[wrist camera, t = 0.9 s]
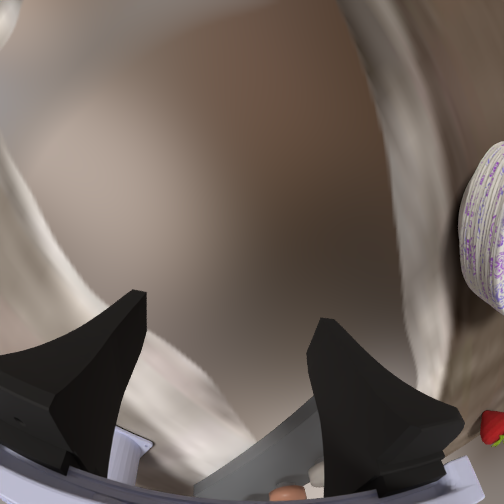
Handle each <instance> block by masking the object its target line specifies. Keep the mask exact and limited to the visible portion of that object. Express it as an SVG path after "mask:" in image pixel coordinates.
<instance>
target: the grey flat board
mask: <svg viewBox="0 0 504 504" xmlns="http://www.w3.org/2000/svg"><path fill="white" fill-rule="evenodd" d="M321 457H324V456H323V442H322V432H321V424H320V418H319V413H318V409H317V405H316V401H315V398H314V396H313V397H312V398H310V399H309V400H308V401H307V402H306V403H305V404H304V405H303V406H301V407H300V408H299V409H298V410H297V411H296V412H294V413H293V414H292V415H291V416H290V417H289V418H287V419H286V420H285V421H284V422H282V423H281V424H280V425H279V426H278V427H276V428H275V429H274V430H273V431H271V432H270V433H269V434H268V435H266V436H265V437H264V438H262V439H261V440H260V441H258V442H257V443H256V444H254V445H253V446H252V447H250V448H249V449H248V450H246V451H245V452H244V453H242V454H241V455H239V456H238V457H237V458H235V459H234V460H232V461H231V462H229V463H228V464H227V465H225V466H224V467H222V468H221V469H219V470H218V471H216V472H215V473H213V474H211V475H210V476H208V477H207V478H205V479H204V480H202V481H200V482H199V483H197V484H195V485H194V496H195V497H199V498H208V499H219V500H234V501H248V500H260V501H270V499H269V493H270V492H271V491H272V490H274V489H276V485H277V484H279V483H282V482H289V481H290V482H294V483H295V485H299V486H304V485H305V484H307V483H309V482H310V479H309V475H308V471H309V469H310V468H311V467H313V466H314V465H315V461H316V460H318V459H319V458H321Z"/></svg>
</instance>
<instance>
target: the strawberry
mask: <svg viewBox="0 0 504 504" xmlns="http://www.w3.org/2000/svg"><path fill="white" fill-rule="evenodd" d="M480 435H481V438H482V441H483V442H484V443H485V444H492V443H494V445H496V444H497V445H498V444H499V443H500V442H501V439H502V440H503V439H504V412H498V411H488V410H487V411H484V412H483V414H482V421H481V431H480ZM503 442H504V441H503ZM494 445H493V446H494ZM497 445H496V446H497ZM496 446H495V447H496ZM491 447H492V446H491Z"/></svg>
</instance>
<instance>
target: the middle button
mask: <svg viewBox="0 0 504 504" xmlns="http://www.w3.org/2000/svg"><path fill="white" fill-rule="evenodd" d="M269 499H270V501H290V500H305V499H307V497H306V493H305V489H304V487H303V486H299V485H295V483H294V482H290V481H289V482H282V483H279V484H277V485H276V489H274V490H272V491H271V492H270V493H269Z"/></svg>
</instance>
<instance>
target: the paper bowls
mask: <svg viewBox="0 0 504 504" xmlns="http://www.w3.org/2000/svg"><path fill="white" fill-rule="evenodd" d="M458 234H459V241H460V261H461V269H462V274H463V276H464V279H465V281H466V283H467V285H468V287H469V288H470V289H471V290H472V291H473V292H474V293H475V294H476V295H477V296H478V297H480V298H481V299H482V300H484V301H485V302H486V303H488V304H489V305H491V306H492V307H493V308H494V309H496V310H497V311H498V312H499V313H501V314H502V315H504V141H502V142H499V143H497V144H495V145H494V146H492V147H491V148H490V149H489V150H488V151H487V153H486V154H485V156H484V157H483V158H482V160H481V162H480V163H479V166H478V167H477V169H476V171H475V173H474V175H473V176H472V178H471V179H470V181H469V183H468V185H467V187H466V189H465V192H464V194H463V198H462V201H461V205H460V210H459V218H458Z"/></svg>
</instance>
